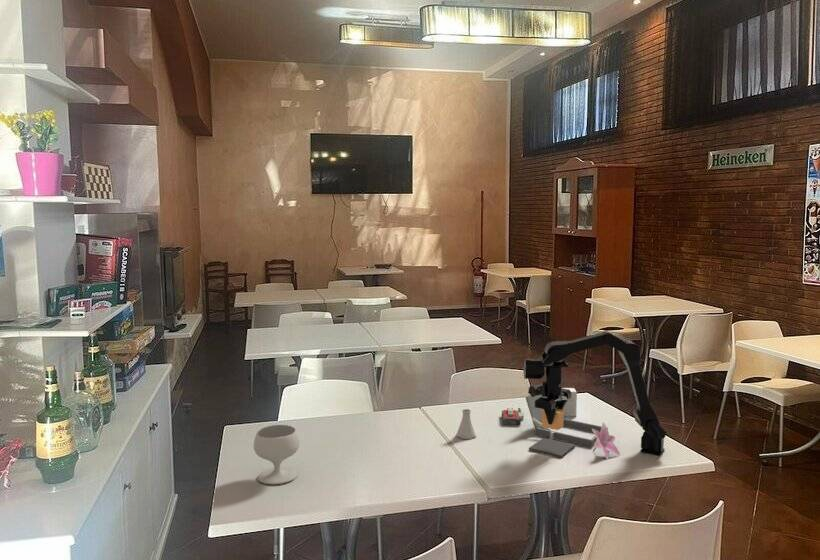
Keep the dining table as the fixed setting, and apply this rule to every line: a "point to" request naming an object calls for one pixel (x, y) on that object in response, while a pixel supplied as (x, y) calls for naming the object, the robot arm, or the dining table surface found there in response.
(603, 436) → the lily
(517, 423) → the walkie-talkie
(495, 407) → the dining table surface
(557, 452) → the rubber mat
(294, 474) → the chalice
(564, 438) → the case
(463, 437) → the flask
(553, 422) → the block
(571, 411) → the small box
